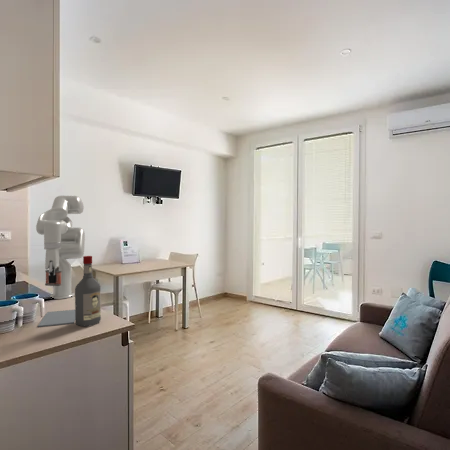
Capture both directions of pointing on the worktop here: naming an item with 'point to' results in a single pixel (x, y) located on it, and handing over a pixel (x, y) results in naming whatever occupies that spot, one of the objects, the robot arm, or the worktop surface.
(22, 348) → the worktop surface
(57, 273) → the lighter
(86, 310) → the liquor
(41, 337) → the worktop surface
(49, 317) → the mat
